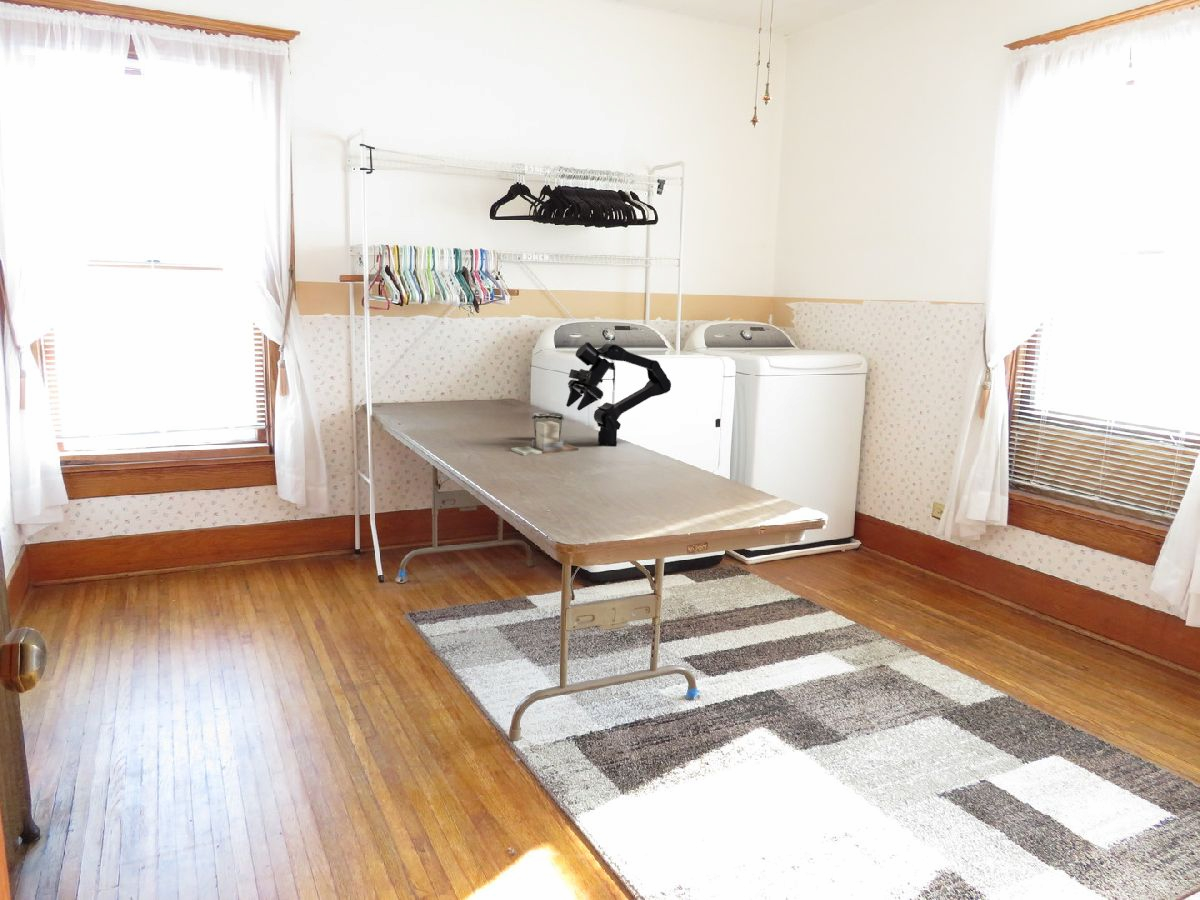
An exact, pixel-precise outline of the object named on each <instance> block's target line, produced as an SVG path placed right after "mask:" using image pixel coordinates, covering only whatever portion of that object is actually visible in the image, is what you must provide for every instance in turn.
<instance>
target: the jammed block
mask: <svg viewBox="0 0 1200 900" xmlns="http://www.w3.org/2000/svg"><path fill="white" fill-rule="evenodd" d="M553 442H560V441H559V423H556V422H552V421H546V422H536V447H538V448H541V449H542V443H553Z"/></svg>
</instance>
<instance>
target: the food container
mask: <svg viewBox="0 0 1200 900" xmlns="http://www.w3.org/2000/svg"><path fill="white" fill-rule="evenodd" d="M531 420H533V426H534V427H533V428H534V439H536V422H546V421H552V422H556V423H559V442H561V436H562V428H563V427H562V425H563V421H565V417H564V415H563V413H559V412H554V411H553V412H550V411H549V412H548V411H547V412H546V411H544V412H543V411H542V412H534V413H533V414H532V416H531Z"/></svg>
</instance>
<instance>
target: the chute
mask: <svg viewBox="0 0 1200 900" xmlns="http://www.w3.org/2000/svg"><path fill="white" fill-rule="evenodd" d="M510 451H512V452H514V453H518V454H519V455H522V456H530V455H531V456H532V455H542V454H551V453H552V454H553V453H562V452H572V451H574V452H575V451H579V447H576V446H573V445H570V444H567V443H565V442H564V441H559V442H553V443H542V449H541V448H538V447H536V439H535V438H534V439H531V445H530V446H529V445H527V446H518V447H511V449H510Z"/></svg>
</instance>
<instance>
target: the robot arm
mask: <svg viewBox="0 0 1200 900" xmlns="http://www.w3.org/2000/svg"><path fill="white" fill-rule="evenodd" d="M575 357H576V358H578V360H580V361H581V362H582V363H583V364H585V365H586V366H590V368H589V369H588V370H586V369H583V368H581V369H578V370H577V369H573V368H571V369H570V372H569V375H568V378H569V379H570V380H569V381H568V383H567V385H568V386H567V387H568V388H569V395H568V398H567V402H566V407H567V408H569V407H571V406H572V405H573V404H574V403H576V402H577V401H578V400H579V399H581V400H580V402H579V403H578V405H577V408H576V410H578V411H581V410H582V409H585V408H586V407H588V406H590V405H591V404H593V403H595V402H597V401H599V400H602V398H603V396H604V391H602V390H601V388H600V387H598V385H599V384H602V383H603V381H604V379H603V378H604V376H605V375H606V374H607V372H608V371H609V370H612V371H615V370H616V368H615V362H610V361H611V360H612V361H617V362H626V363H628V364H631V365H635V366H637V367H640V368H643V369H646V370H647V371H646V372H647V378H648V381H647V382H646V383H645V385H644V386H643V387H642V388H640V389H639V390H637V391H635V392H634V393H631V394H630V395H628V396H627V397H625V398H624V397H623V399H621V400H619V401H617V402H616V403H611V402H604V403H603V404H602V405H600V406H597V409H596V410H594V414H593V419H594V421H595V422H596V424H597V427H598V428H599V430H598V434H597V443H598V445H599V446H607V447H609V446H610V447H611V446H612V447H613V446H614V447H617V445H618V440H617V439H618V436H617V434H618V430H619V431H620V428H621V423H620V422H619V418H620V417H621V415H622V414H625V412H627V411H629V410H631V409H632V408H634V407H636V406H638V405H640V404H641V403H643V402H645V401H647V400H648V399H650V398H651V397H652V398H653V397H656V396H657V397H658V396H661V395H664V394H667V393H668V392H670V391H671V388H672V383H671V380H670V379H669V377H668V375H667V374H666V373H665V371H664V370H663V368H662V367H661V364H660V362H659V361H658V360H655V359H652V358H651V359H650V358H647V357H645V356H642V355H638V354H635V353H633V352H629V351H627V350H626V349H625V348H624V347H622V346H620V345H618V344H615V343H609V342H608V343H605V344H603V345H602V347H599V348H595V347H594V346H593V345H592V343H590V342H588V341H586V342H585V343H584V344H582V345H581V346H579V348H578V349H577V350H576V352H575ZM608 360H609V361H608Z"/></svg>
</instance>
